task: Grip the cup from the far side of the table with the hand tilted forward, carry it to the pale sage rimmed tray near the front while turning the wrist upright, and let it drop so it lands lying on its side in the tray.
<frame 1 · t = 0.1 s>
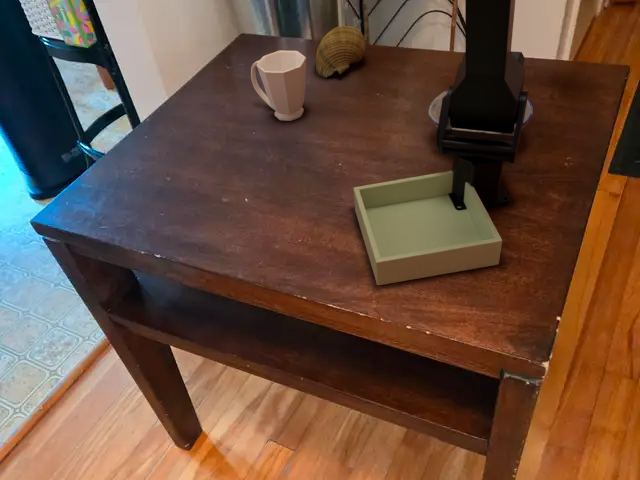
seashell: (341, 67, 98), on the table
bowl: (477, 140, 80), on the table
tray: (422, 235, 68), on the table
cup: (282, 112, 90), on the table
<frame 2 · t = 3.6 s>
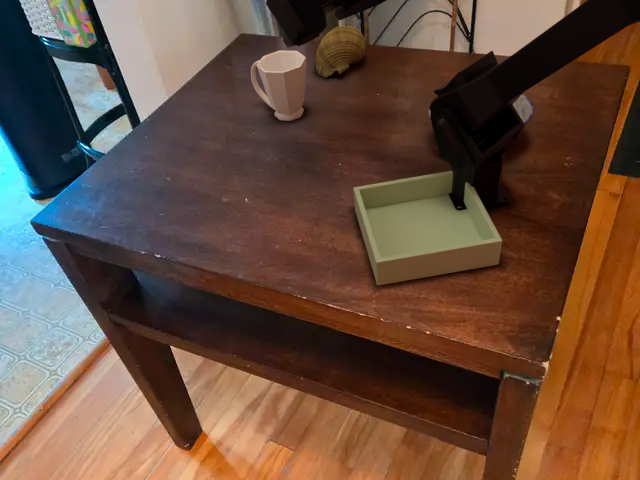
hand: (312, 30, 76), 14 cm above the table, tool tilted 45°, fingers open, 9 cm apart
nothing on the table moved.
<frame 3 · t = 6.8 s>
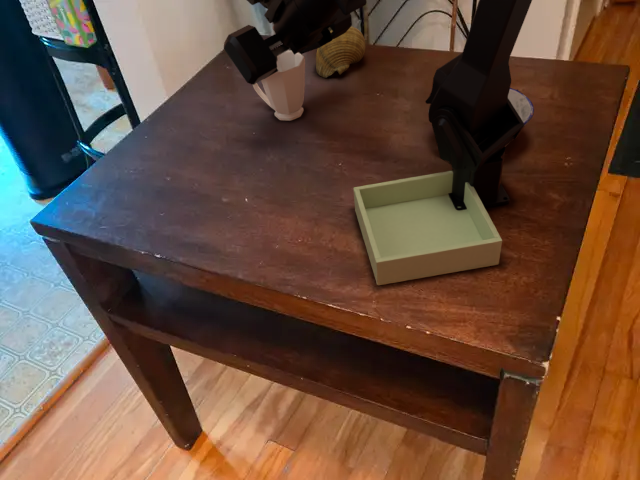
hand: (268, 65, 86), 7 cm above the table, tool tilted 45°, fingers closed on cup, 6 cm apart
cup: (282, 111, 90), on the table, touching gripper
everything else where it was.
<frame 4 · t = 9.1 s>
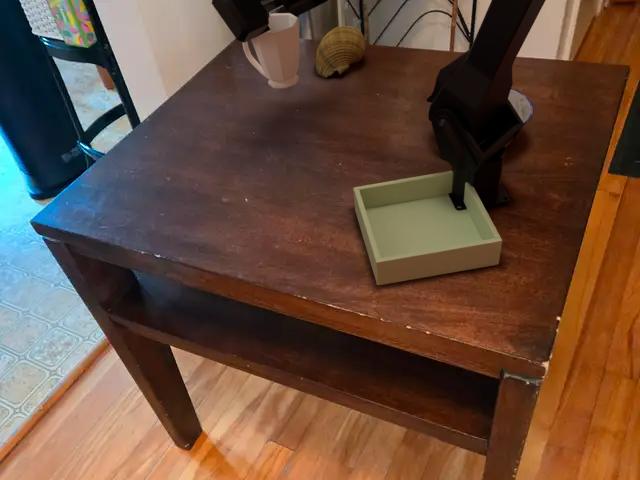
hand: (261, 29, 82), 12 cm above the table, tool tilted 45°, fingers closed on cup, 6 cm apart
cup: (276, 80, 86), point 5 cm above the table, touching gripper
everything else where it was.
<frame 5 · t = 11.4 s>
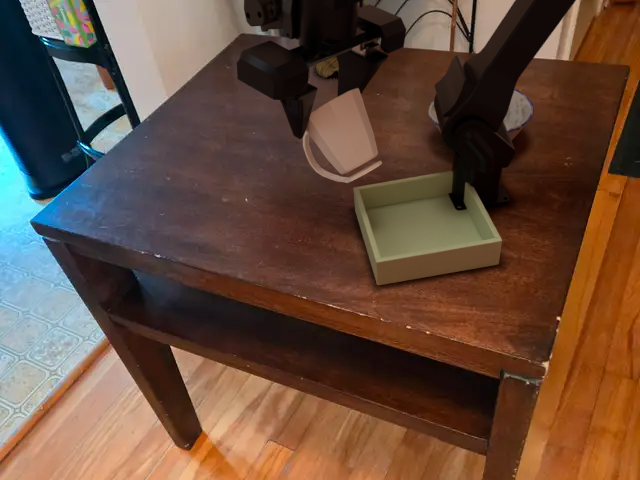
hand: (320, 125, 66), 11 cm above the table, tool pointing down, fingers closed on cup, 6 cm apart
cup: (356, 179, 66), point 6 cm above the table, touching gripper
everything else where it was.
when the fingers open (6 cm above the table, at t = 14.8 s): cup stays where it is, resting on tray.
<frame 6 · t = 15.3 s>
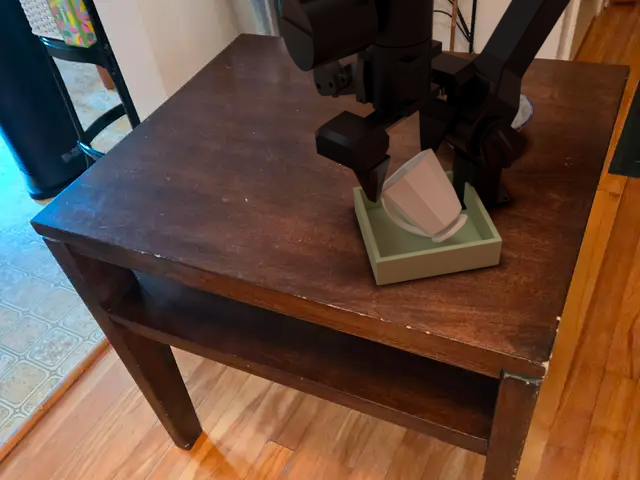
hand: (400, 179, 65), 7 cm above the table, tool pointing down, fingers open, 9 cm apart
cup: (442, 234, 65), point 2 cm above the table, touching tray
everything else where it was.
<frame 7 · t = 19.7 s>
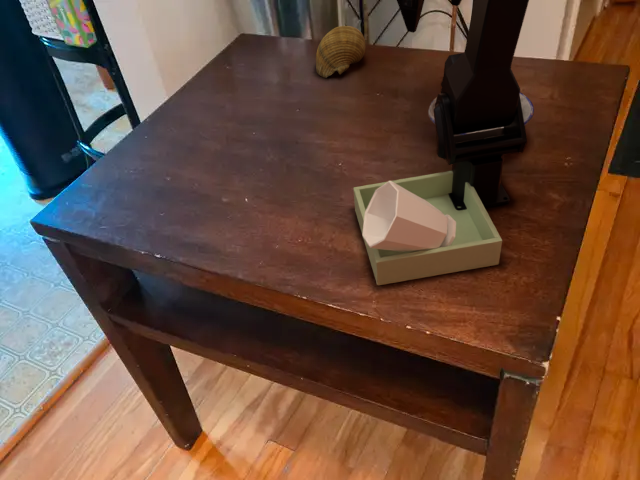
hand: (433, 18, 76), 13 cm above the table, tool pointing down, fingers open, 9 cm apart
at the end: cup tilted 58°; cup inside the target area in the tray (2.6 cm from its centre), point 1.9 cm above the tray's base; the gripper is holding nothing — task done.
